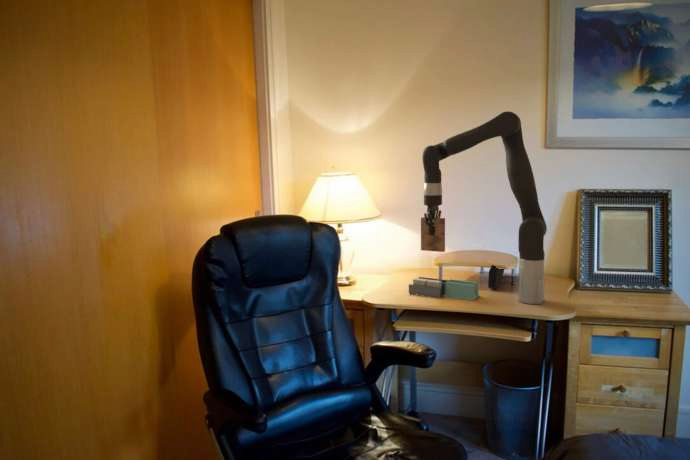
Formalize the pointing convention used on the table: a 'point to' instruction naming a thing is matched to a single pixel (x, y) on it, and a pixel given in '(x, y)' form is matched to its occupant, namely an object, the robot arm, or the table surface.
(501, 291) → the table surface
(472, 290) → the green rectangular block
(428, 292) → the offcut rack
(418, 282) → the offcut
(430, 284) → the offcut
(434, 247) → the walnut panel
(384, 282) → the table surface
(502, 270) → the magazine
